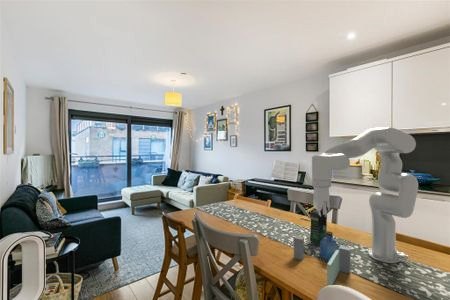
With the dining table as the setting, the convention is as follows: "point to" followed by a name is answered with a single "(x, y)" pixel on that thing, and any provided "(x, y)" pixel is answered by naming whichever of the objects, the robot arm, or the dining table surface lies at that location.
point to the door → (333, 268)
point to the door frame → (343, 254)
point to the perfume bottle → (328, 246)
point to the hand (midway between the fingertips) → (322, 224)
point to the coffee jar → (316, 229)
